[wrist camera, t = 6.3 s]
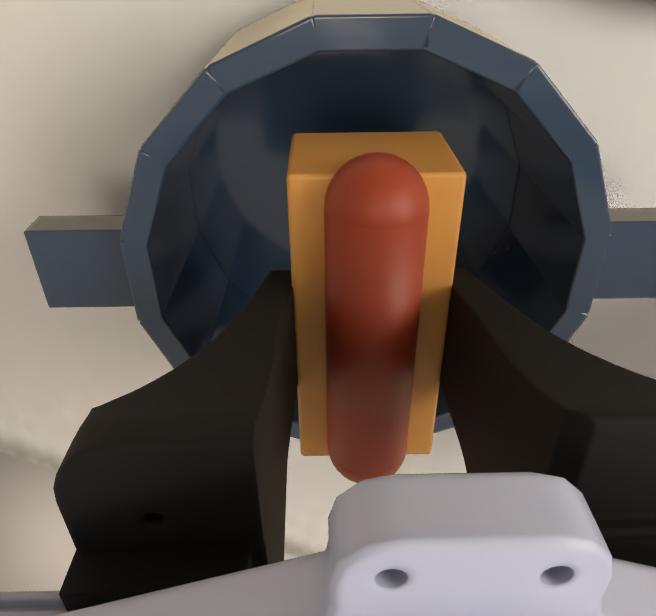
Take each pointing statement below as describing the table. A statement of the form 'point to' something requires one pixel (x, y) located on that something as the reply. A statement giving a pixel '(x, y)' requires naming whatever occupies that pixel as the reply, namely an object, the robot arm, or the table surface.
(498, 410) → the robot arm
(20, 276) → the table surface
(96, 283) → the pot
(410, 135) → the hot dog
